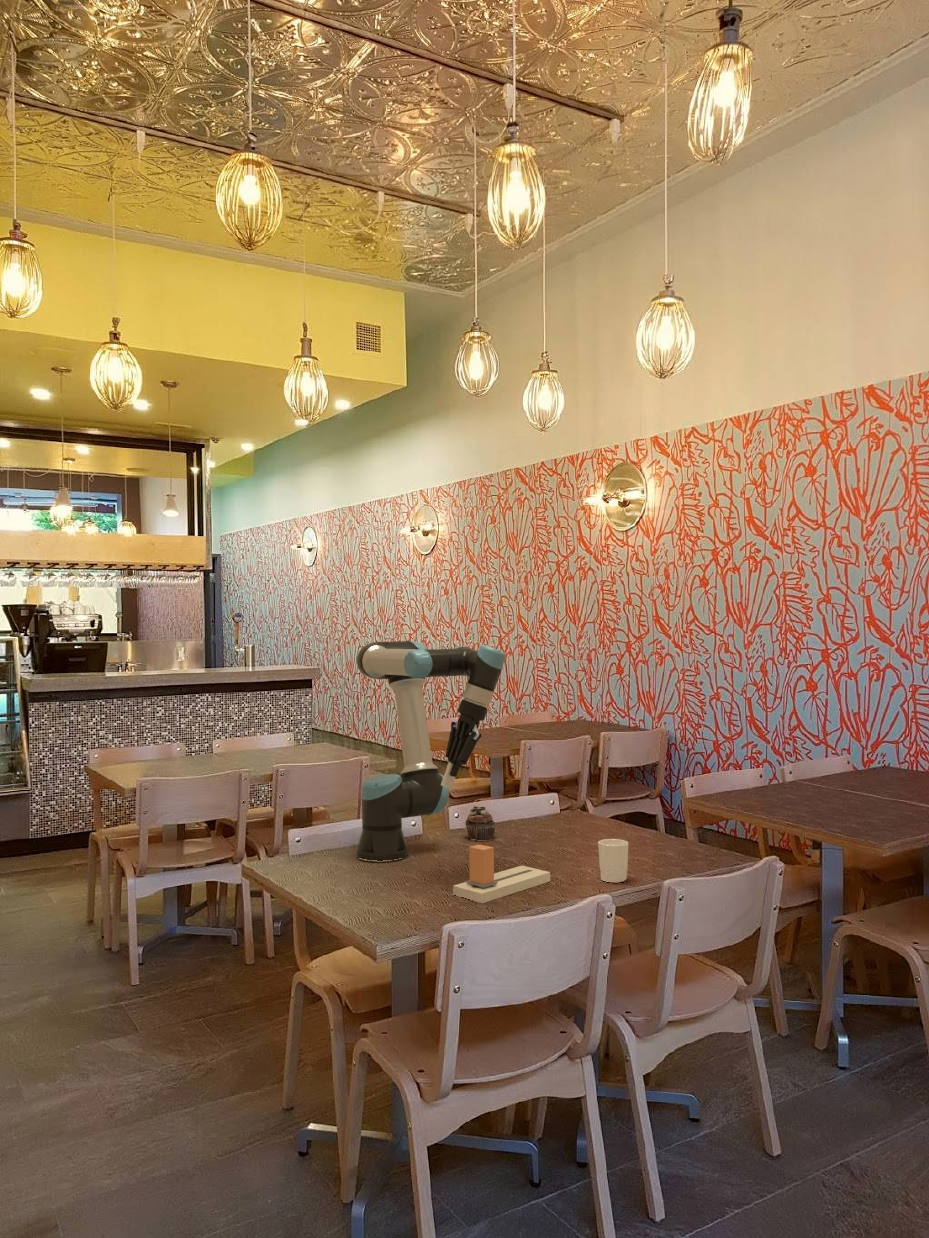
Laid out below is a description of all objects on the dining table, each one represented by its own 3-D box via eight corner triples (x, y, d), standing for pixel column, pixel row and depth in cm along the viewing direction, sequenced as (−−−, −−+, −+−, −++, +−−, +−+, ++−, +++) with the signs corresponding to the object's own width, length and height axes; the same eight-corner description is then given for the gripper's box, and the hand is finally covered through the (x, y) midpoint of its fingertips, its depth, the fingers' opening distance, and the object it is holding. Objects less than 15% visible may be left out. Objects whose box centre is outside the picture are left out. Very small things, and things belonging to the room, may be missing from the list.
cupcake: (496, 841, 282) (495, 809, 282) (465, 842, 282) (465, 810, 282) (495, 834, 292) (495, 803, 292) (465, 835, 292) (465, 804, 292)
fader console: (521, 874, 244) (521, 865, 244) (550, 881, 237) (550, 871, 237) (453, 895, 226) (453, 885, 226) (482, 903, 219) (481, 892, 219)
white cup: (610, 886, 232) (610, 847, 232) (592, 878, 239) (592, 841, 239) (635, 881, 236) (634, 843, 236) (616, 874, 243) (616, 837, 243)
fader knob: (480, 879, 230) (479, 843, 230) (497, 883, 226) (496, 847, 226) (466, 883, 226) (465, 846, 226) (483, 887, 222) (483, 850, 222)
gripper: (498, 711, 237) (469, 797, 235) (474, 701, 248) (446, 783, 247) (475, 704, 233) (445, 790, 232) (452, 694, 244) (423, 776, 243)
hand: (446, 786), depth 239 cm, fingers closed
